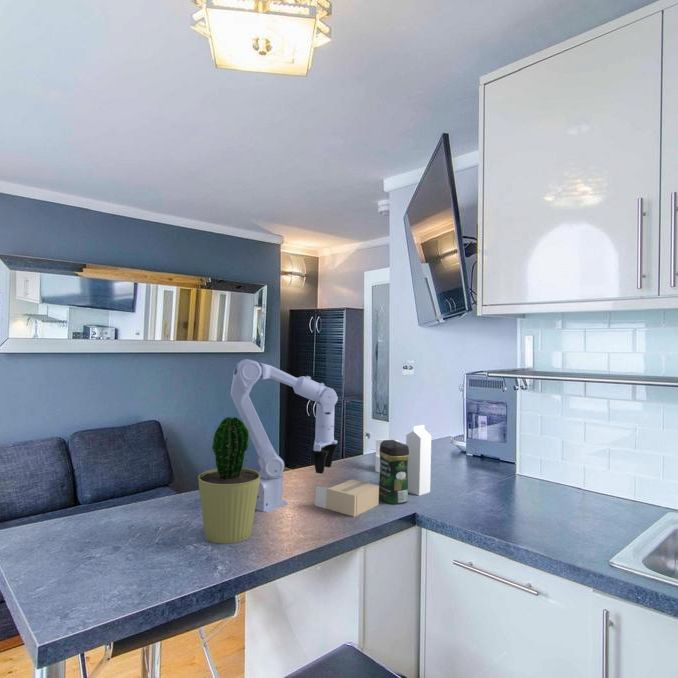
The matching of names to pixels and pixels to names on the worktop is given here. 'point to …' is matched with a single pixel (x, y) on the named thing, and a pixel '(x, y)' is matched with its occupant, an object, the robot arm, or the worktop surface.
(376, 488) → the carton
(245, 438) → the potted cactus
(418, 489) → the milk
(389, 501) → the coffee jar
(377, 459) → the cylinder with rectangular tab
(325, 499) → the beige rectangular panel
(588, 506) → the worktop surface
